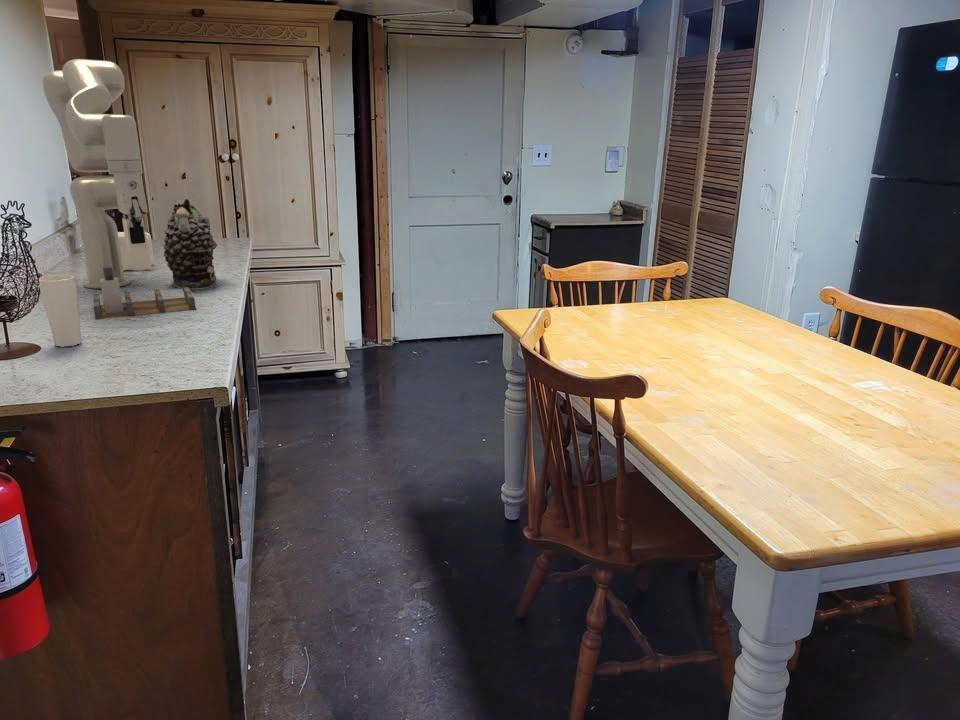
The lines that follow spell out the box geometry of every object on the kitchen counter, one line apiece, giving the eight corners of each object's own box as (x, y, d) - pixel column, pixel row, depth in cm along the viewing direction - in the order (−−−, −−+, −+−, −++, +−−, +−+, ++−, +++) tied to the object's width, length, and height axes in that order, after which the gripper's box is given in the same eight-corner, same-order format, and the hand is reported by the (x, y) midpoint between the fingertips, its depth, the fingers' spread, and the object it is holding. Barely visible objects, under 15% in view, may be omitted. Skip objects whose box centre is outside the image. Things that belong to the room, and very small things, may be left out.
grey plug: (105, 309, 178) (98, 266, 175) (122, 307, 180) (116, 265, 176) (105, 313, 175) (98, 269, 171) (123, 311, 177) (116, 268, 173)
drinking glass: (61, 351, 150) (48, 282, 145) (44, 345, 153) (31, 278, 148) (92, 343, 155) (81, 277, 150) (75, 338, 159) (63, 273, 154)
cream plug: (143, 248, 181) (137, 205, 178) (147, 250, 178) (141, 206, 175) (126, 250, 179) (120, 206, 175) (130, 252, 176) (124, 207, 172)
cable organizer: (101, 272, 226) (96, 236, 222) (106, 266, 236) (101, 231, 232) (152, 270, 231) (147, 235, 227) (155, 264, 240) (150, 230, 236)
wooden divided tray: (95, 309, 182) (92, 294, 181) (189, 301, 192) (187, 286, 191) (96, 324, 170) (93, 307, 168) (196, 314, 180) (194, 298, 179)
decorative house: (223, 290, 206) (214, 203, 198) (167, 293, 200) (156, 205, 192) (219, 276, 224) (210, 196, 216) (168, 279, 218) (157, 197, 210)
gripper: (150, 168, 168) (160, 244, 174) (133, 166, 180) (143, 237, 186) (116, 169, 164) (128, 247, 169) (101, 166, 176) (112, 239, 182)
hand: (135, 241), depth 178 cm, fingers closed on cream plug, 4 cm apart
